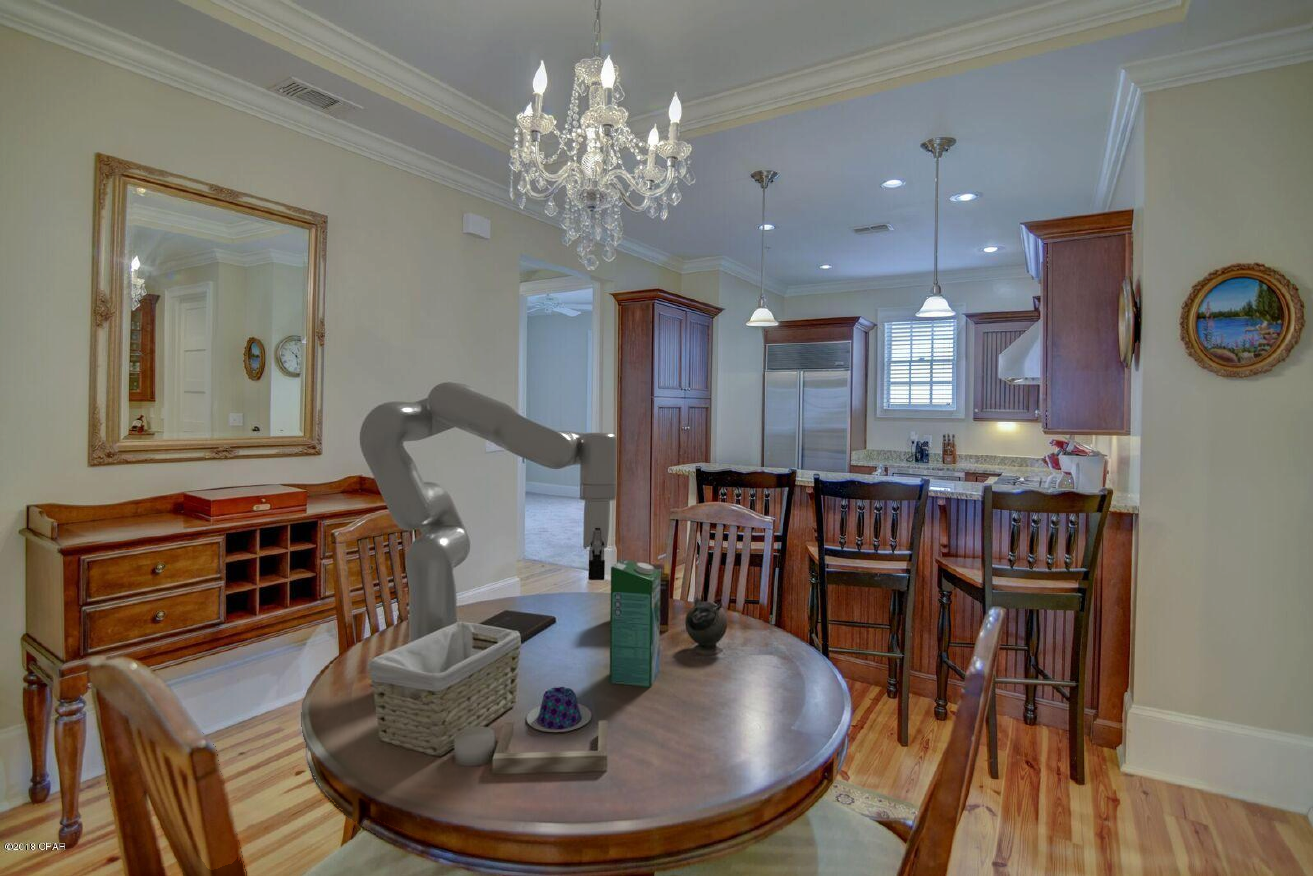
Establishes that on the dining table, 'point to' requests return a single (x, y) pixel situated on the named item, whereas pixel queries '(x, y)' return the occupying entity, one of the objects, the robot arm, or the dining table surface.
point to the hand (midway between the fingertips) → (596, 573)
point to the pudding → (559, 711)
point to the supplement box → (664, 595)
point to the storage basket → (444, 685)
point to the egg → (474, 746)
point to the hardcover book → (517, 625)
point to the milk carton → (634, 623)
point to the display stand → (548, 757)
